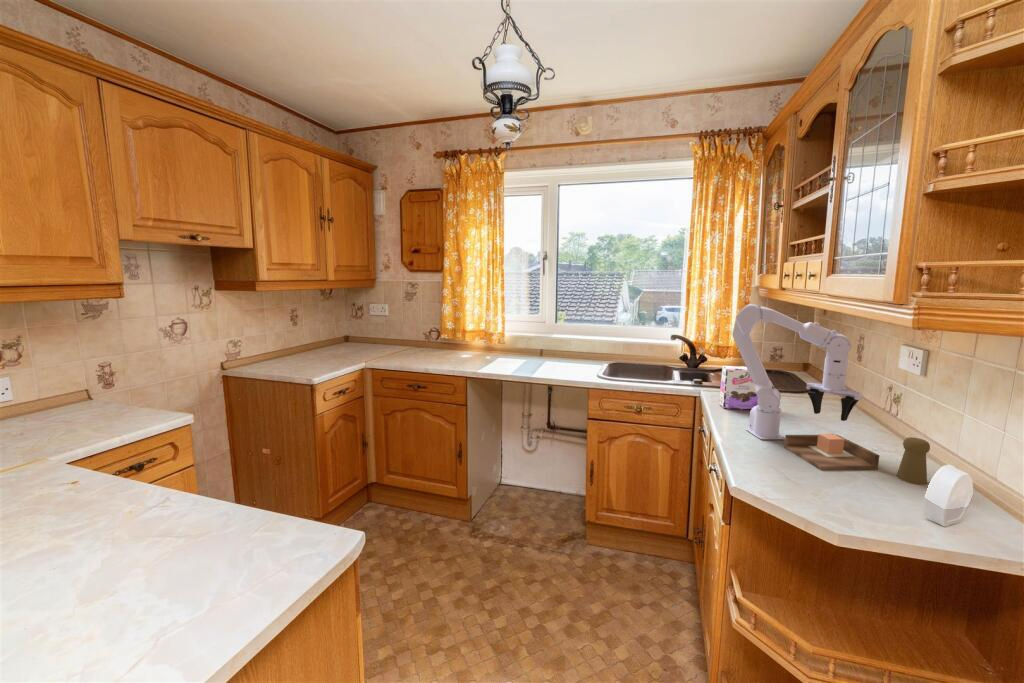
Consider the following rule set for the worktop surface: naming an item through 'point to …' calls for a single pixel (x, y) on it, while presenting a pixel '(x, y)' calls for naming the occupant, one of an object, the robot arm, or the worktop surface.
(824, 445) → the cube
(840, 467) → the arena
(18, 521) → the worktop surface
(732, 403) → the candy box
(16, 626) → the worktop surface
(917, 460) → the cork
